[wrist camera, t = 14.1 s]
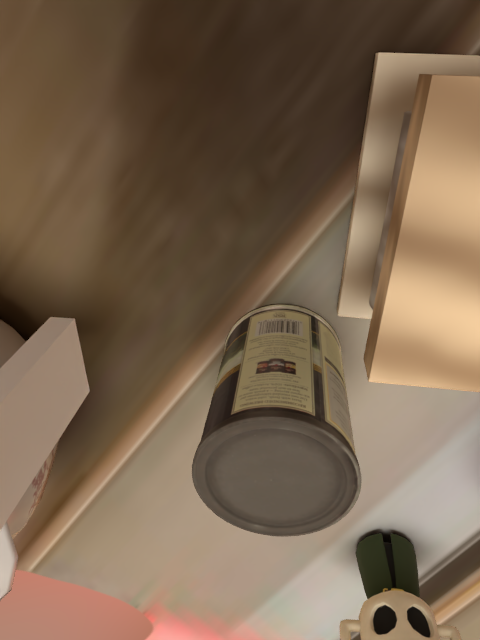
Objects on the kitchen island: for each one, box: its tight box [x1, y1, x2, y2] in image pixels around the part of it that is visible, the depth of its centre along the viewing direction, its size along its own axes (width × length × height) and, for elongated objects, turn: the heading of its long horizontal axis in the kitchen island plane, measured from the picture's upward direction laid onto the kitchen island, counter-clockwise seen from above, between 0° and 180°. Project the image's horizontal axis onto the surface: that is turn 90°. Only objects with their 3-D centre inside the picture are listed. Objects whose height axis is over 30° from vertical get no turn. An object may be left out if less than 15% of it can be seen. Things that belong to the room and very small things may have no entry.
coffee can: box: [192, 305, 361, 536], centre depth 34 cm, size 10×10×14 cm
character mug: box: [340, 533, 461, 640], centre depth 45 cm, size 11×7×13 cm, turn 97°
